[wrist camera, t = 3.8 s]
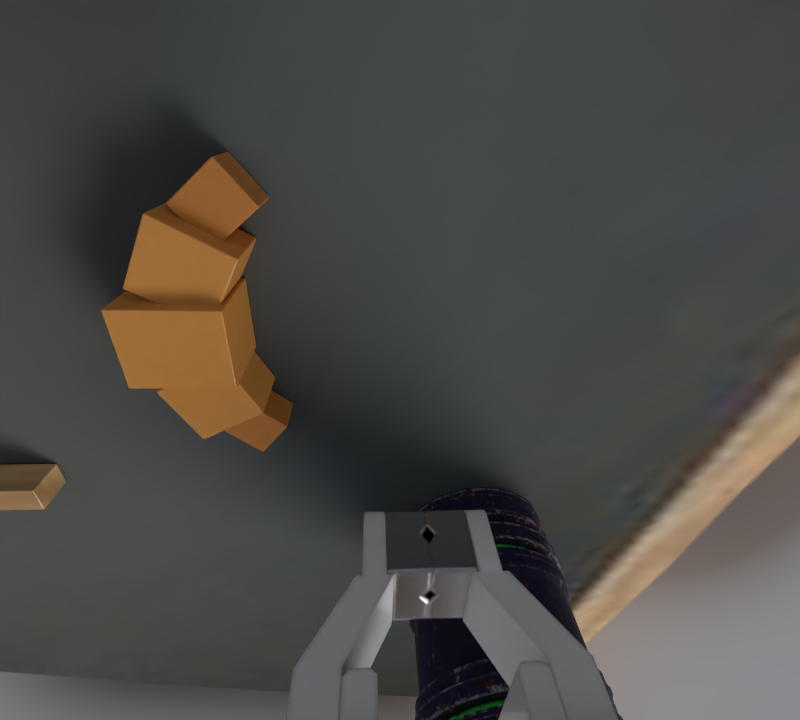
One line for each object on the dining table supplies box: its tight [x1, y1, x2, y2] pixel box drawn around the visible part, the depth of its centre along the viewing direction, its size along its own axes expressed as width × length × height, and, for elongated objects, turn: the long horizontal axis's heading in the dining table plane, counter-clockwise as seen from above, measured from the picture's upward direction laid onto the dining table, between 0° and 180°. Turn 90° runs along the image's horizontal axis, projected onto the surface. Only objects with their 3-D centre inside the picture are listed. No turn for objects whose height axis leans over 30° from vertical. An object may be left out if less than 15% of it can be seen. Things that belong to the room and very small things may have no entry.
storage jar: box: [409, 488, 623, 720], centre depth 23 cm, size 10×10×15 cm
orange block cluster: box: [101, 151, 293, 451], centre depth 18 cm, size 14×6×4 cm, turn 178°
